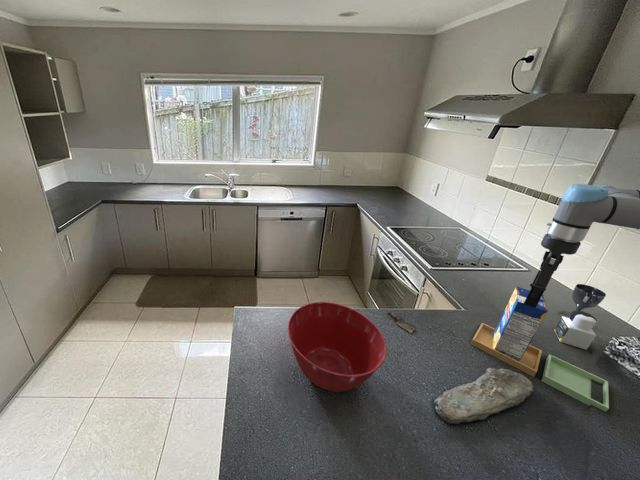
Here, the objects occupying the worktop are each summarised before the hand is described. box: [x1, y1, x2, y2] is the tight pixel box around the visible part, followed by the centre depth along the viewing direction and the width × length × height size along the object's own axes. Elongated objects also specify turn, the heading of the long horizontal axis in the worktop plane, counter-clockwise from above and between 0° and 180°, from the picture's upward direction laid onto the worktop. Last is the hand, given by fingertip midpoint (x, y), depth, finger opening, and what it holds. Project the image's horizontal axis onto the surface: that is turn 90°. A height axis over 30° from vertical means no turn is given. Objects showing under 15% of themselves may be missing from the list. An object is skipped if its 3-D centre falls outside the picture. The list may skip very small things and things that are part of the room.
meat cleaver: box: [386, 310, 415, 334], centre depth 110 cm, size 12×1×5 cm
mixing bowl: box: [287, 301, 387, 393], centre depth 86 cm, size 28×28×16 cm
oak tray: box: [470, 322, 543, 378], centre depth 99 cm, size 17×13×2 cm
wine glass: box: [559, 283, 607, 318], centre depth 112 cm, size 8×8×15 cm
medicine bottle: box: [553, 309, 598, 350], centre depth 102 cm, size 7×7×12 cm
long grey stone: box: [433, 367, 534, 425], centre depth 81 cm, size 35×5×10 cm
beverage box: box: [493, 286, 548, 361], centre depth 95 cm, size 7×11×22 cm, turn 141°
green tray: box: [541, 353, 610, 413], centre depth 87 cm, size 13×13×2 cm
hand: (532, 296), depth 90 cm, fingers open, 13 cm apart
